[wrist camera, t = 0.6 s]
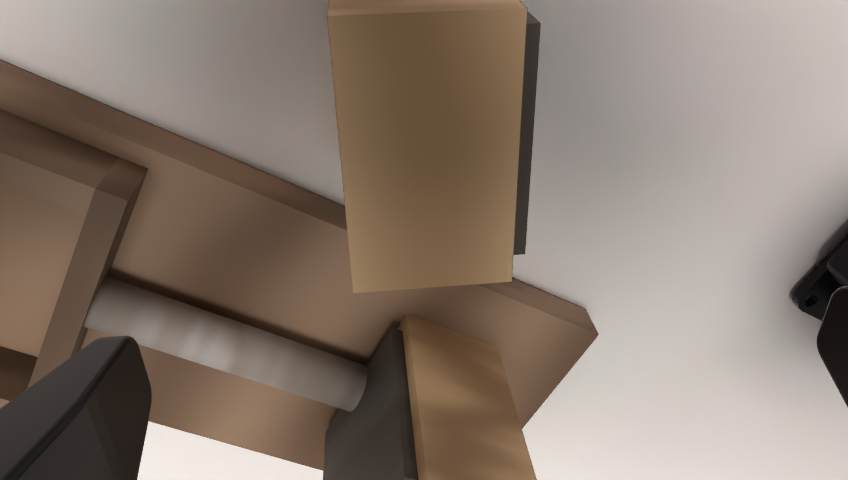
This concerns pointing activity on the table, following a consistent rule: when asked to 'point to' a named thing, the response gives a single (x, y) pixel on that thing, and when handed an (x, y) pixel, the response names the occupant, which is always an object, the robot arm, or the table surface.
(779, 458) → the table surface
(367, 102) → the tan wooden block
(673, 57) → the table surface
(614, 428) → the table surface
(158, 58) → the table surface
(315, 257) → the rail
